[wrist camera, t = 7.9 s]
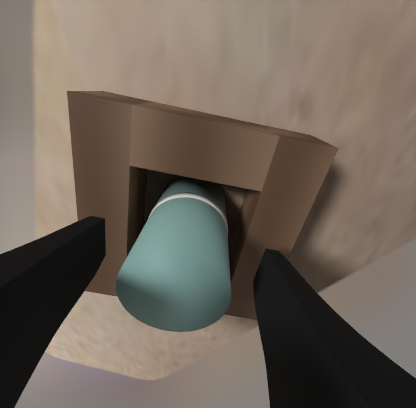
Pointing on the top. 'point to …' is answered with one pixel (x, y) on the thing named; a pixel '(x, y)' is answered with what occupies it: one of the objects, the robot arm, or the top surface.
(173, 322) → the peg
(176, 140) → the stand
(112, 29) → the top surface
